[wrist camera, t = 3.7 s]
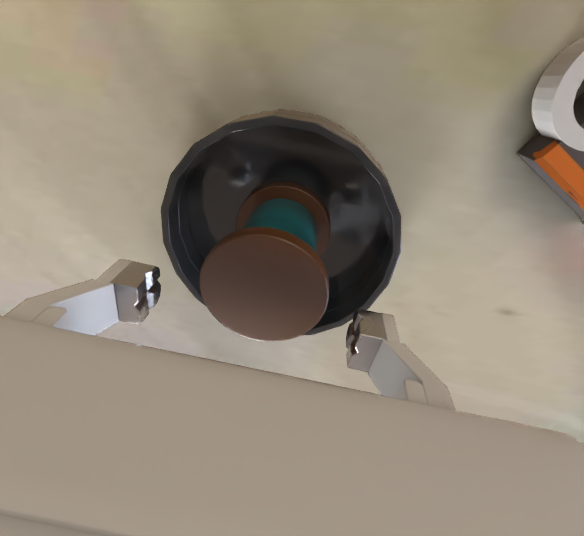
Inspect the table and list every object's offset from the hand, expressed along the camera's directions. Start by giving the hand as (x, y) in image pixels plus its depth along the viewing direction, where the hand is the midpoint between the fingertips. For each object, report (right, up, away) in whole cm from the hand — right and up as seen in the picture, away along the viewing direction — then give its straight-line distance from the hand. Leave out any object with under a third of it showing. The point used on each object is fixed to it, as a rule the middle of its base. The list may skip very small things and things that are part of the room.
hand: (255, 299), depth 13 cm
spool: (+1, +4, +6) cm, 8 cm away
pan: (+1, +4, +7) cm, 8 cm away
